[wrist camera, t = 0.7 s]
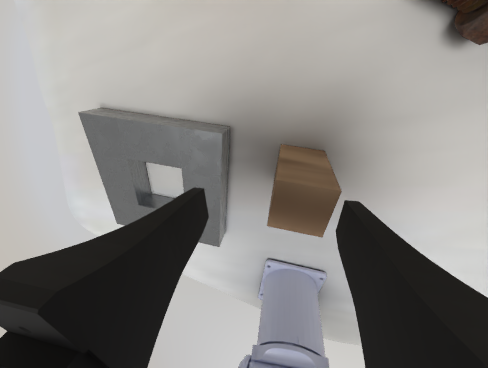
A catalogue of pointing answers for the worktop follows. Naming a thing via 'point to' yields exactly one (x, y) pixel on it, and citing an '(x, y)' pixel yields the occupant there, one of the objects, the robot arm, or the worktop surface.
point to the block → (303, 191)
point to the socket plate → (158, 162)
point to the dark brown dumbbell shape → (471, 19)
